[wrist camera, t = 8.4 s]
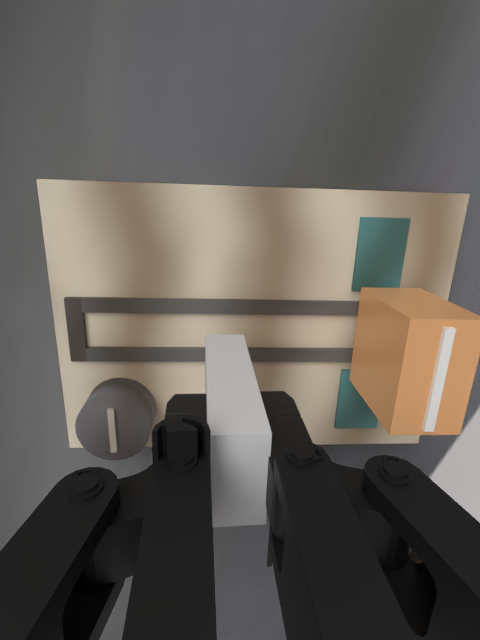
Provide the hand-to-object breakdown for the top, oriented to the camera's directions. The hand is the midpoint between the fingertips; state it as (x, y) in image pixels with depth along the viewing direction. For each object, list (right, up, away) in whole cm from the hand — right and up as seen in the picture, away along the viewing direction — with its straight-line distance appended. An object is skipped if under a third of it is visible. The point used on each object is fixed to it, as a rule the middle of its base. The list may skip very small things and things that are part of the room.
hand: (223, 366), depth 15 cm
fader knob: (+8, +1, +4) cm, 9 cm away
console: (+1, +2, +6) cm, 7 cm away
